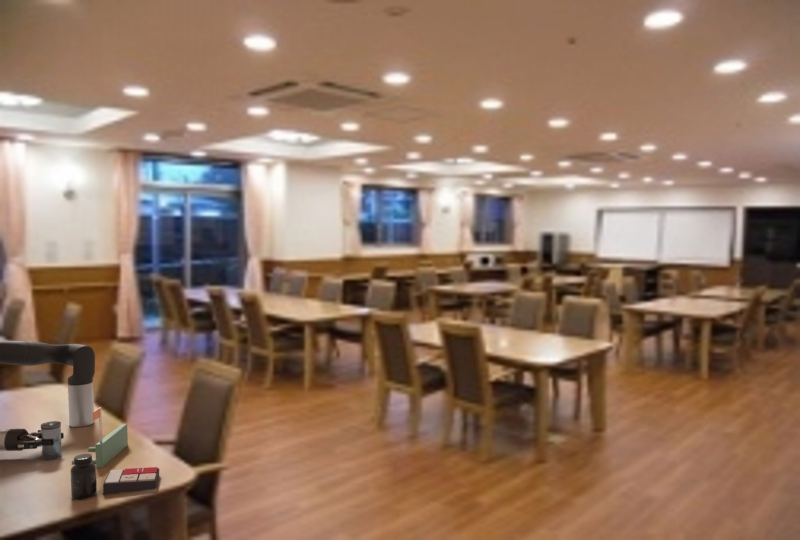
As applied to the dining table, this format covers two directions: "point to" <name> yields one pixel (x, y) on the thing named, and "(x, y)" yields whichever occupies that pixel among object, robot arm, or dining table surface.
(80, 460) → the supplement bottle
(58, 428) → the slate canister
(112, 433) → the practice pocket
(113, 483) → the calculator
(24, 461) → the dining table surface
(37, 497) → the dining table surface
